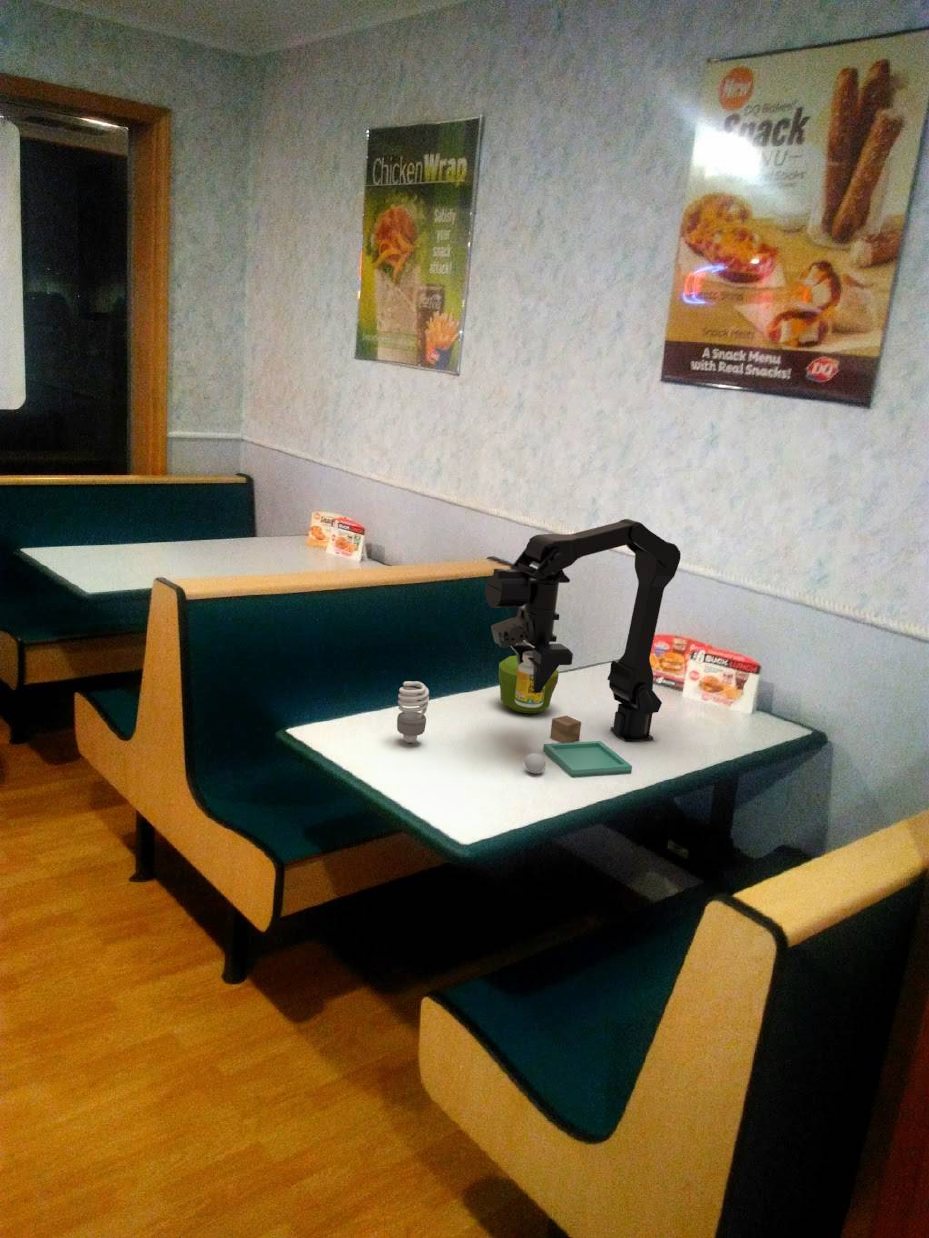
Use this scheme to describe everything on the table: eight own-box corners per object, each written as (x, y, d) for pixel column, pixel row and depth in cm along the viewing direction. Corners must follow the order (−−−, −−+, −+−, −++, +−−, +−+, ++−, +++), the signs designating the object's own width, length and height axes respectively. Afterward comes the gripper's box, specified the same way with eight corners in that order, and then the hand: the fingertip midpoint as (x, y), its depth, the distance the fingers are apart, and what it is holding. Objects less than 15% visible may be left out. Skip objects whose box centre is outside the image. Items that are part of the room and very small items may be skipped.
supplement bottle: (531, 697, 184) (536, 648, 181) (548, 706, 179) (554, 656, 177) (508, 700, 181) (513, 650, 178) (525, 709, 176) (531, 659, 174)
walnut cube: (564, 734, 191) (566, 715, 190) (579, 741, 189) (581, 721, 188) (549, 738, 189) (552, 718, 188) (564, 745, 186) (567, 725, 185)
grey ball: (538, 767, 174) (541, 749, 173) (547, 776, 170) (549, 757, 170) (520, 769, 172) (522, 750, 171) (529, 777, 169) (531, 758, 168)
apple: (483, 702, 205) (488, 651, 202) (527, 695, 212) (533, 646, 209) (520, 722, 195) (527, 669, 192) (565, 714, 202) (572, 663, 200)
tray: (599, 747, 186) (600, 740, 186) (631, 773, 175) (632, 766, 175) (543, 750, 182) (543, 743, 181) (572, 777, 171) (572, 770, 170)
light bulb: (430, 742, 181) (435, 681, 178) (416, 751, 176) (421, 688, 173) (403, 735, 183) (408, 674, 180) (388, 744, 178) (393, 682, 175)
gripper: (479, 592, 181) (471, 672, 185) (520, 619, 164) (510, 706, 168) (534, 593, 185) (525, 671, 189) (579, 619, 168) (568, 704, 172)
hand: (530, 687), depth 179 cm, fingers closed on supplement bottle, 5 cm apart
